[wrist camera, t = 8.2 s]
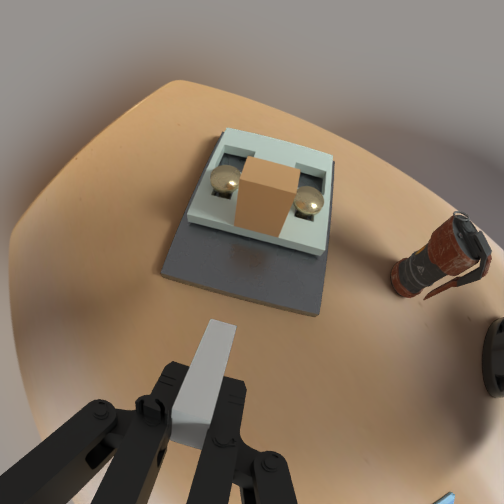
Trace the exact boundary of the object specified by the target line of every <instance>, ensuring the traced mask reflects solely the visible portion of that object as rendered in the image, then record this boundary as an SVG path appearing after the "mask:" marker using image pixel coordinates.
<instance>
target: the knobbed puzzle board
mask: <svg viewBox="0 0 504 504" xmlns="http://www.w3.org/2000/svg"><path fill="white" fill-rule="evenodd" d="M224 153H228V154H232V155H237V156H241V157H245V158H247V159H246V162H245V165H244V168H243V171H242V173H241V172H240V173H241V176H240V179H239V187H238V189H237V190H236V191H234V192H233V194H232V197H231V200H229V199H225V198H221V197H217V196H214V194H215V192H216V190H214V189H213V188H212V186H211V183H210V175H211V172H212V170H213V169H214V168H216V167H218V165H219V163H220V161H221V158H222V156H223V154H224ZM332 162H333V155H330V154H327V153H324V152H321V151H317V150H314V149H311V148H308V147H304V146H301V145H297V144H294V143H290V142H286V141H283V140H279V139H275V138H271V137H267V136H263V135H259V134H255V133H250V132H246V131H241V130H236V129H232V128H226V130H225V132H224V134H223V136H222V138H221V140H220V142H219V144H218V147H217V149H216V151H215V153H214V155H213V157H212V159H211V161H210V163H209V165H208V167H207V170H206V172H205V174H204V176H203V178H202V181H201V183H200V185H199V187H198V189H197V192H196V194H195V196H194V199H193V201H192V203H191V206H190V208H189V210H188V213H187V218H188V222H192V223H196V224H200V225H204V226H208V227H212V228H216V229H220V230H223V231H227V232H231V233H235V234H239V235H243V236H246V237H250V238H254V239H258V240H262V241H266V242H269V243H273V244H277V245H281V246H284V247H288V248H292V249H296V250H299V251H303V252H307V253H310V254H314V255H318V256H321V255H322V254H323V252H324V251H325V246H326V237H327V228H328V217H329V206H330V193H331V179H332ZM300 172H302V173H306V174H309V175H313V176H316V177H319V178H322V179H323V183H322V193H321V194H322V195H323V197H324V205H323V207H322V209H321V211H320V212H319V213H318V214H316V215H314V216H311V221H308V220H305V219H301V218H298V217H294V214H295V207H294V205H293V201H294V199H295V196H296V194H297V189H298V182H299V176H300Z"/></svg>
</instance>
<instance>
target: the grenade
mask: <svg viewBox="0 0 504 504" xmlns="http://www.w3.org/2000/svg"><path fill="white" fill-rule="evenodd" d="M455 213H461V214H464V215H466V216H467V217H468V218H466V217H464V216H462V215H455ZM491 252H492V250H491V248H490V246H489V244H488V242H487V240H486V238H485V236H484V235H483V233H482V231H479V232H478V231H477V230H476V228H475V226H474V225H473V224H472V222H471V221H470V218H469V216H468V215H467V214H465V213H463V212H460V211H455V212H453V216H451V217H450V218H449V219H448V220H447V221H446V222H444V223H443V224H442V225H441V226H440V227H439V228H437V229H436V230H435V231H434V232H433V233H432V235H431V239H430V240H429V242H428V243H427V244H426V245H425V246H424V247H422V248H421V249H420V250H418V251H416V252H414V253H413V254H412V255H411V256H410V257H409V258H404V259H402V260H400V261H399V262H397V263H396V264H395V265H394V267H393V269H392V273H391V282H392V285H393V288H394V289H395V291H396V292H397V293H398V294H399V295H401V296H404V297H406V298H411V297H414V296H416V295H418V294H420V293H421V292H422V291H423V289H424V288H425V287H427V286H431V285H432V284H433V283H434V282H436V281H438V280H439V279H441V278H443V277H445V276H446V275H451V276H457V275H459V274H460V273H462V272H464V271H465V270H467V269H469V268H470V267H472V266H474V265H475V264H477V263H478V262H479V260H480V258H481V261H480V266H479V267H478V268H476V269H475V270H473V271H471V272H469V273H467V274H466V275H464V276H462V277H456V278H454V279H452V280H450V281H449V282H447V283H445V284H443V285H441V286H439V287H437V288H436V289H434V290H432V291H431V292H430V293H428V294H427V295H426V296H425V298H424V299H423V300H426V299H428V298H430V297H432V296H434V295H436V294H438V293H440V292H442V291H444V290H446V289H448V288H450V287H458V286H461V285H465V284H468V283H471V282H474V281H477V280H480V279H481V278H482V277H484V276H485V275H486V274H487V273H488V268H489V266H490V263H491V260H492V258H491Z"/></svg>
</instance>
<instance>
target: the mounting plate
mask: <svg viewBox="0 0 504 504" xmlns="http://www.w3.org/2000/svg"><path fill="white" fill-rule="evenodd" d="M223 134H224V132H222V134H221V136H220V138H219V140H218V142H217V144H216V146H215V148H214V150H213V152H212V154H211V156H210V158H209V160H208V162H207V164H206V166H205V168H204V170H203V172H202V175H201V177H200V179H199V181H198V183H197V185H196V188H195V190H194V192H193V194H192V197H191V199H190V201H189V203H188V206H187V208H186V210H185V213H184V215H183V217H182V220H181V222H180V225H179V227H178V229H177V232H176V234H175V237H174V239H173V242H172V244H171V247H170V249H169V252H168V254H167V257H166V260H165V262H164V265H163V268H162V270H161V275H162V276H163V278H167V279H170V280H173V281H177V282H180V283H184V284H187V285H190V286H194V287H197V288H201V289H204V290H208V291H212V292H215V293H219V294H223V295H226V296H230V297H234V298H238V299H241V300H245V301H249V302H253V303H257V304H261V305H265V306H269V307H273V308H277V309H281V310H286V311H290V312H294V313H298V314H303V315H307V316H312V317H316V316H317V315H319V312H320V306H321V299H322V292H323V285H324V277H325V270H326V261H327V253H328V244H329V234H330V223H331V212H332V199H333V183H334V164H335V161H333V162H332V179H331V193H330V206H329V217H328V228H327V237H326V246H325V251H324V252H323V254H322V255H321V256H318V255H314V254H310V253H307V252H303V251H299V250H296V249H292V248H288V247H284V246H281V245H277V244H273V243H269V242H266V241H262V240H258V239H254V238H250V237H246V236H243V235H239V234H235V233H231V232H227V231H223V230H220V229H216V228H212V227H208V226H204V225H200V224H196V223H192V222H188V218H187V213H188V210H189V208H190V206H191V203H192V201H193V199H194V196H195V194H196V192H197V189H198V187H199V185H200V183H201V181H202V178H203V176H204V174H205V172H206V170H207V167H208V165H209V163H210V161H211V159H212V157H213V155H214V153H215V151H216V149H217V147H218V144H219V142H220V140H221V138H222V136H223ZM246 159H247V158H245V157H241V156H237V155H232V154H228V153H224V154H223V156H222V158H221V161H220V163H219V165H218V167H216V168H214V169H213V170H212V172H211V175H210V183H211V186H212V188H213V189H214V190H216V192H215V194H214V196H217V197H221V198H225V199H229V200H231V197H232V194H233V192H234V191H236V190H237V189H238V187H239V179H240V176H241V173H242V171H243V168H244V165H245V162H246ZM240 172H241V173H240ZM322 183H323V179H322V178H319V177H316V176H313V175H309V174H306V173H302V172H300V176H299V182H298V189H297V194H296V196H295V199H294V201H293V205H294V207H295V214H294V217H298V218H301V219H305V220H308V221H311V216H314V215H316V214H318V213H319V212H320V211H321V209H322V207H323V205H324V197H323V195H322V194H321V193H322Z"/></svg>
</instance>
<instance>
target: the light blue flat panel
mask: <svg viewBox="0 0 504 504" xmlns="http://www.w3.org/2000/svg"><path fill="white" fill-rule="evenodd" d="M454 498H455V494H453V493H452V492H449V493H448V494H447V495H445V496H444V497H443V498H441V499H440V500H438V501H437V502H436V503H434V504H454Z"/></svg>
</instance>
